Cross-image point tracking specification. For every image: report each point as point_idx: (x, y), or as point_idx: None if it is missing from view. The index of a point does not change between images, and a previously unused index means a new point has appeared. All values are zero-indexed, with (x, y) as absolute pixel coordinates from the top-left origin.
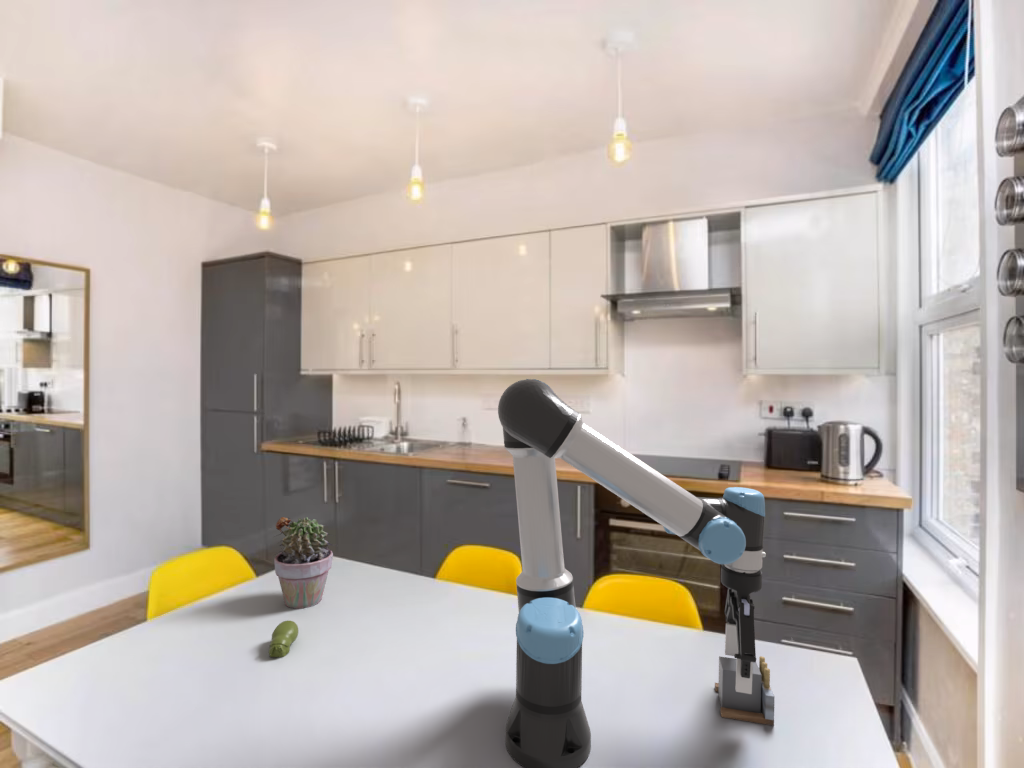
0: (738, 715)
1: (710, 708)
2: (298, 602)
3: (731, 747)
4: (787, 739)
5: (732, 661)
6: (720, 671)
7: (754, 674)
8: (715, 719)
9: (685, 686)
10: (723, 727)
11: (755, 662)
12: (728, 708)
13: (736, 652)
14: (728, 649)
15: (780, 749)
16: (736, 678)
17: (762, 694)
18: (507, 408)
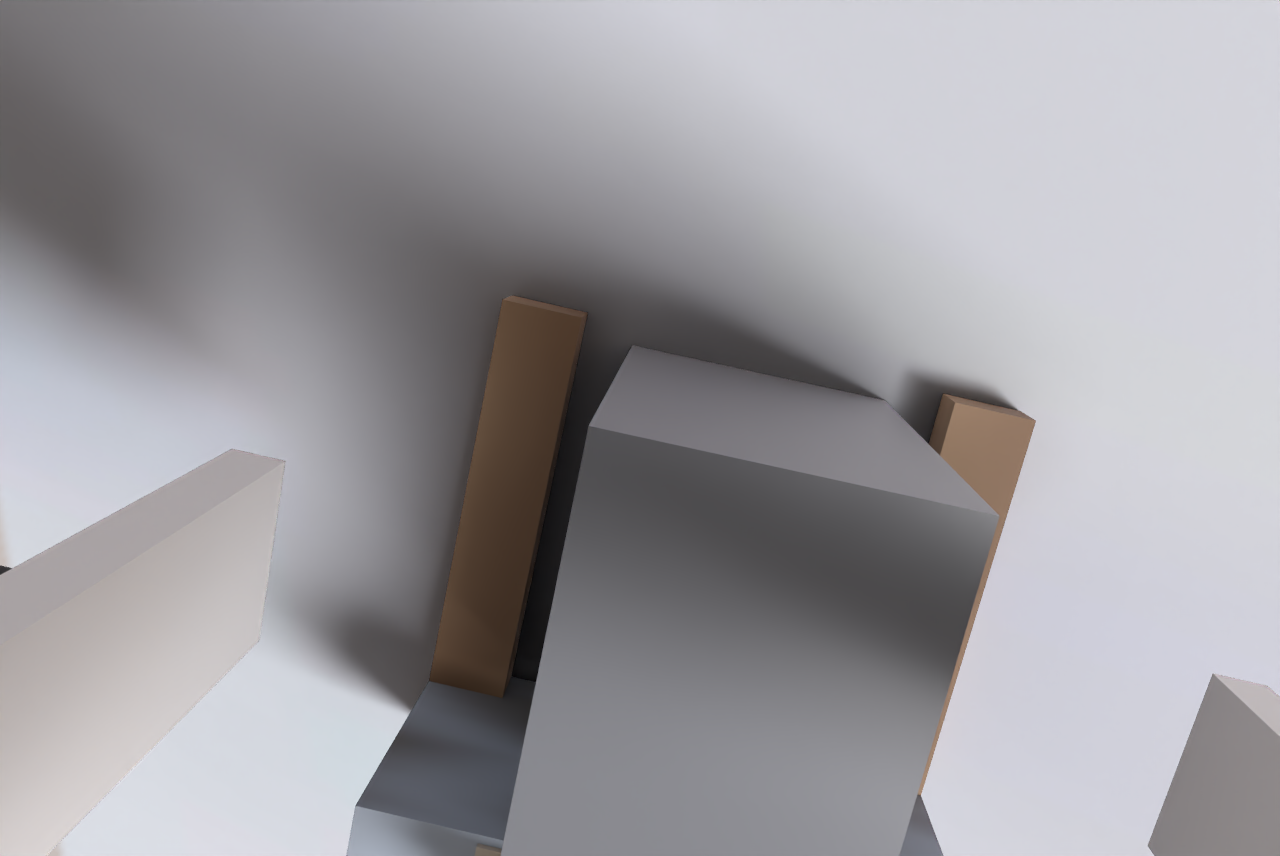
0: (474, 454)
1: (644, 231)
2: None
3: (90, 227)
4: (263, 749)
5: (841, 673)
6: (793, 440)
7: (503, 843)
8: (471, 221)
9: (1042, 76)
10: (357, 257)
11: None
12: (563, 393)
13: (1188, 852)
14: (1245, 761)
15: None
16: (141, 501)
17: None
18: None
